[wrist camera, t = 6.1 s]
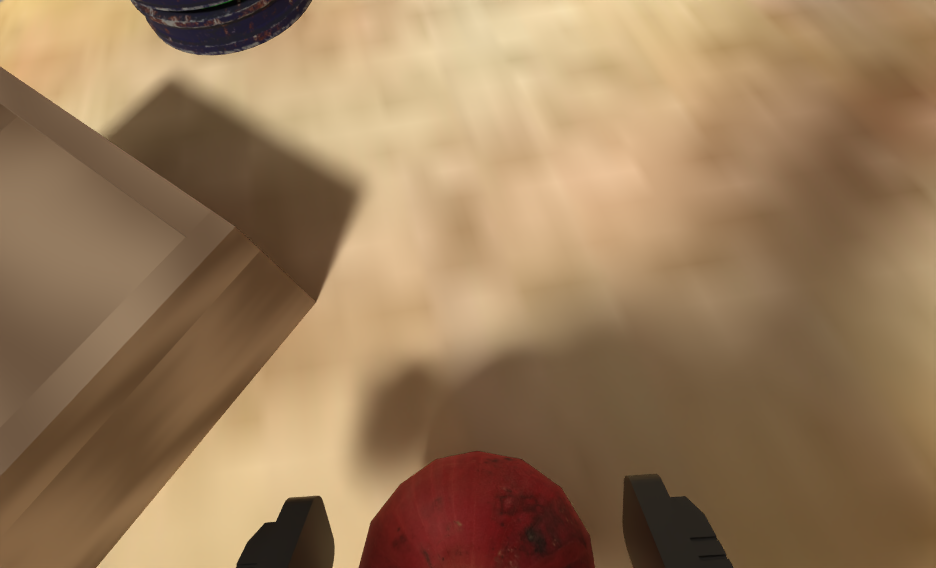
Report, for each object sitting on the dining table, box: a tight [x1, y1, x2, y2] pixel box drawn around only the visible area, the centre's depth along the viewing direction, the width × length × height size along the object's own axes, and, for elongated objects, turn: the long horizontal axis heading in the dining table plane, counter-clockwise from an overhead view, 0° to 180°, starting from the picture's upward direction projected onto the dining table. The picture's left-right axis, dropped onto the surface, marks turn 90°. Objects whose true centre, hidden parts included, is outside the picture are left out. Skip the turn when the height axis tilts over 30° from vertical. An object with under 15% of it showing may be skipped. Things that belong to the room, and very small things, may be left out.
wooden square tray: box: [0, 67, 316, 568], centre depth 16 cm, size 13×13×6 cm
